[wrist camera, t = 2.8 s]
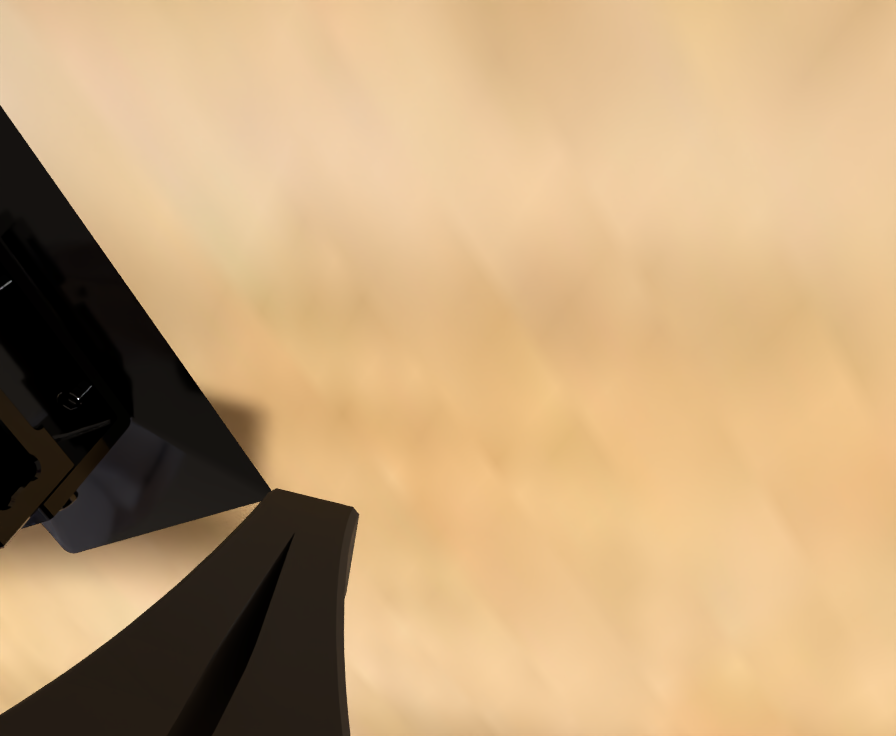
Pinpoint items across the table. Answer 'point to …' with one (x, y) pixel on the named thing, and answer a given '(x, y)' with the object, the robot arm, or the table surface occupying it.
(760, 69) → the table surface
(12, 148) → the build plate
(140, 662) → the robot arm
